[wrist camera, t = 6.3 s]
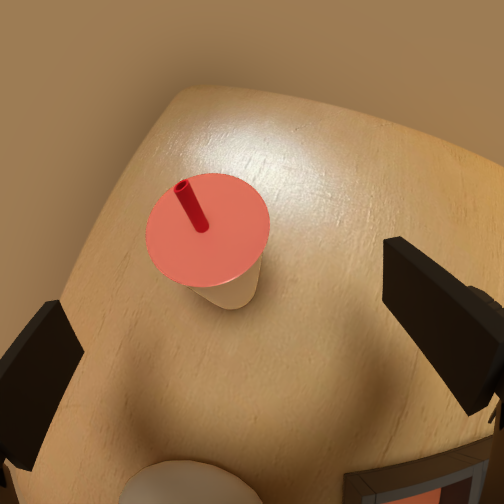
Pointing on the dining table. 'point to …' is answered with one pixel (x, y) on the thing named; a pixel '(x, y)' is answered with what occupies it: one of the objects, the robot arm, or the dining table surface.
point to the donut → (186, 485)
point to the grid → (424, 479)
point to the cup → (210, 237)
